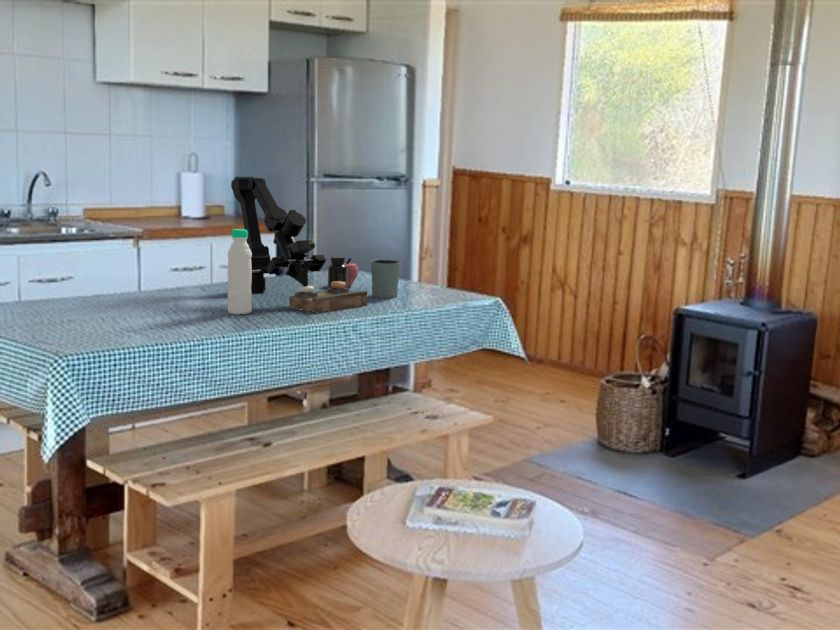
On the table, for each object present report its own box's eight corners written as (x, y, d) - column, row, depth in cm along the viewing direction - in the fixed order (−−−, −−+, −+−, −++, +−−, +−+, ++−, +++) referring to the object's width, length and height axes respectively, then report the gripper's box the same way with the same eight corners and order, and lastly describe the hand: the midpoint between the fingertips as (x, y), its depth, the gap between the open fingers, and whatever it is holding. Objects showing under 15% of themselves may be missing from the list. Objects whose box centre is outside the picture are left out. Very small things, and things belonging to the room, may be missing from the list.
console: (289, 307, 305) (289, 292, 304) (339, 300, 322) (340, 285, 321) (316, 313, 297) (316, 298, 296) (366, 305, 314) (367, 290, 313)
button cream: (298, 306, 303) (298, 287, 302) (298, 303, 308) (299, 285, 307) (313, 306, 304) (313, 287, 303) (313, 303, 308) (313, 285, 307)
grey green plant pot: (394, 293, 338) (395, 259, 336) (403, 298, 329) (404, 263, 327) (366, 294, 335) (367, 259, 333) (374, 299, 326) (375, 263, 323)
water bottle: (231, 315, 289) (231, 230, 285) (224, 311, 295) (224, 228, 291) (254, 314, 292) (255, 230, 288) (247, 310, 299) (247, 228, 294)
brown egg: (330, 301, 314) (331, 283, 313) (330, 298, 318) (331, 281, 317) (345, 301, 314) (345, 283, 313) (345, 299, 319) (345, 281, 318)
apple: (333, 284, 355) (334, 256, 353) (357, 284, 356) (358, 257, 354) (334, 288, 345) (334, 260, 343) (358, 288, 346) (359, 260, 344)
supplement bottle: (348, 290, 341) (349, 256, 339) (345, 293, 335) (346, 258, 333) (329, 289, 342) (330, 255, 340) (325, 292, 335) (326, 257, 333)
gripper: (271, 231, 300) (289, 271, 294) (323, 229, 311) (342, 268, 305) (259, 253, 308) (276, 293, 301) (310, 251, 319) (328, 289, 312)
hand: (306, 285), depth 305 cm, fingers closed, pressing on button cream
